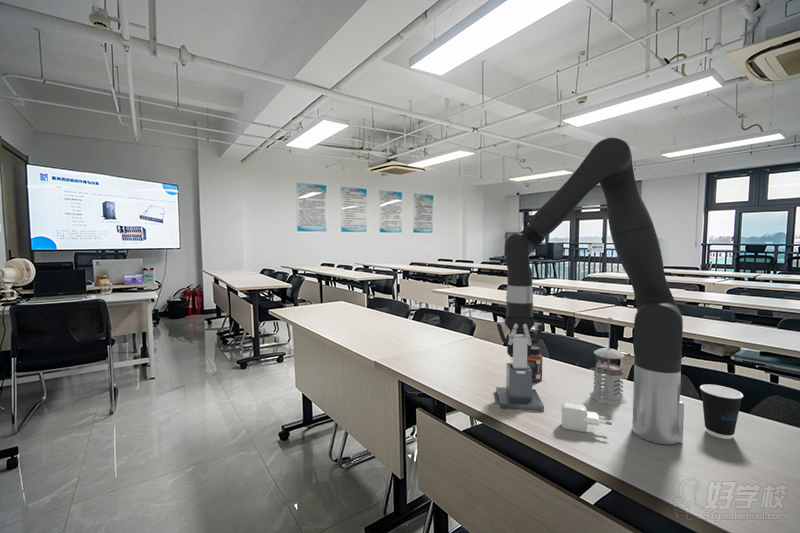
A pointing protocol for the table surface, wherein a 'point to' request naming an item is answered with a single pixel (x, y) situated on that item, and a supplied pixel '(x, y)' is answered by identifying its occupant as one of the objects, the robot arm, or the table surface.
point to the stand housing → (519, 391)
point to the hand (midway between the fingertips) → (519, 356)
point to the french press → (608, 376)
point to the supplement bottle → (535, 363)
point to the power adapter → (580, 417)
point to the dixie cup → (720, 410)
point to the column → (519, 352)
